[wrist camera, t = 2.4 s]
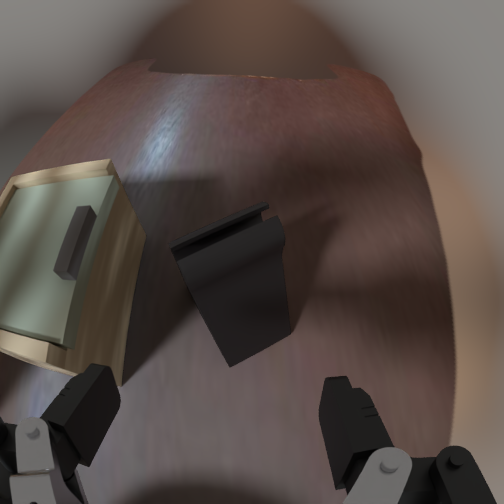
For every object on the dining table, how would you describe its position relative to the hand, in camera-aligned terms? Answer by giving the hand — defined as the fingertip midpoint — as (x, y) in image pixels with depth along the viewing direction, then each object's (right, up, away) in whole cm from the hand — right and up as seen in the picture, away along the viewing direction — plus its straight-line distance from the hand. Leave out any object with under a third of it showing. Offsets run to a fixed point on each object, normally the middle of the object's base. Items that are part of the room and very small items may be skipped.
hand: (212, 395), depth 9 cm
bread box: (-17, 0, +16) cm, 23 cm away
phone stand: (0, 0, +16) cm, 16 cm away
